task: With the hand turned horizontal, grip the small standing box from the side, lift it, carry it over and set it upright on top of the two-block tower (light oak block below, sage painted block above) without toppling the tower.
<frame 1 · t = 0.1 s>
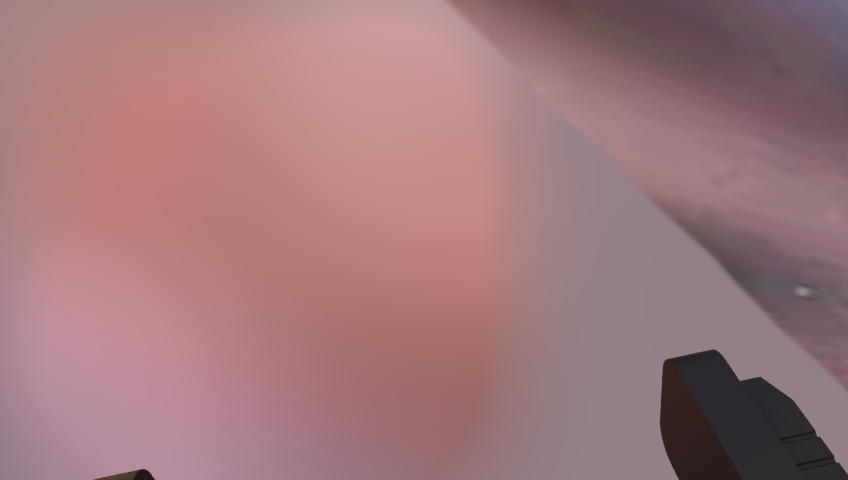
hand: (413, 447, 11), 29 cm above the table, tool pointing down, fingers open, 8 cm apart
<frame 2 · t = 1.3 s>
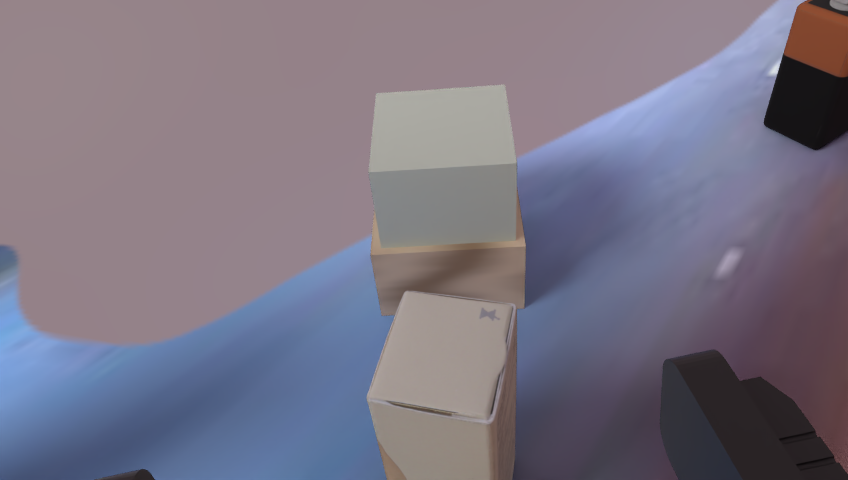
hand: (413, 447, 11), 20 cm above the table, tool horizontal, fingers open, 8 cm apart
tower top: (446, 201, 39), point 5 cm above the table, touching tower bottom
battery: (815, 123, 50), on the table
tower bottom: (451, 264, 43), on the table, touching tower top
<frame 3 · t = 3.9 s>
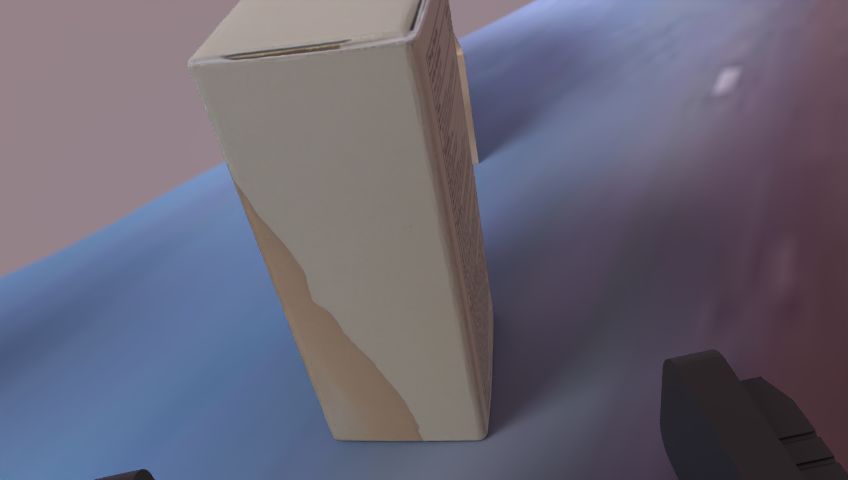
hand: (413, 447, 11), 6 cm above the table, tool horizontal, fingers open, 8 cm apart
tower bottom: (379, 142, 33), on the table, touching tower top
box: (421, 379, 20), on the table
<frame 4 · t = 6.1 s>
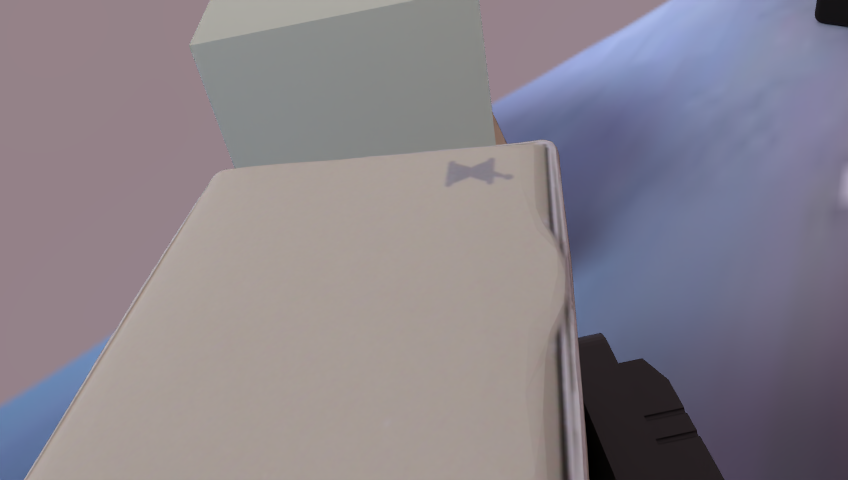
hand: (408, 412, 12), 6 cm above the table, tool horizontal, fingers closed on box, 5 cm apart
tower top: (369, 135, 23), point 5 cm above the table, touching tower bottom
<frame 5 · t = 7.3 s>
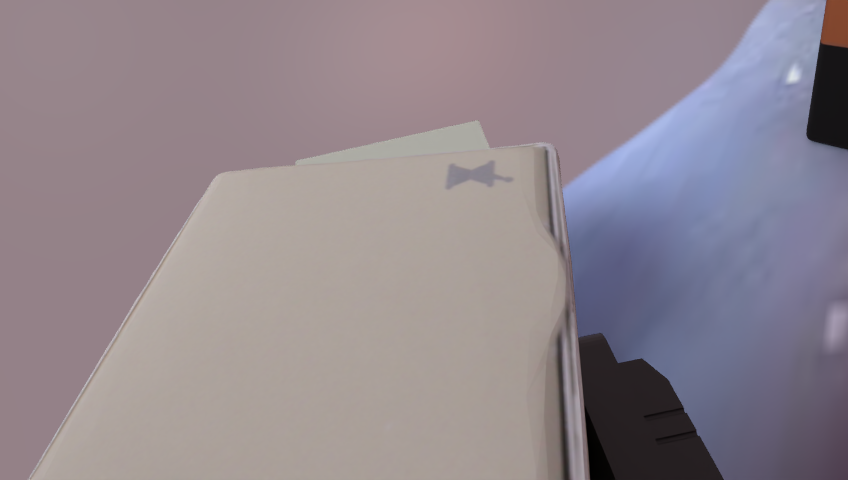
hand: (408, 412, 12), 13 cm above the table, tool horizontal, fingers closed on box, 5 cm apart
tower top: (422, 299, 26), point 5 cm above the table, touching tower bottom
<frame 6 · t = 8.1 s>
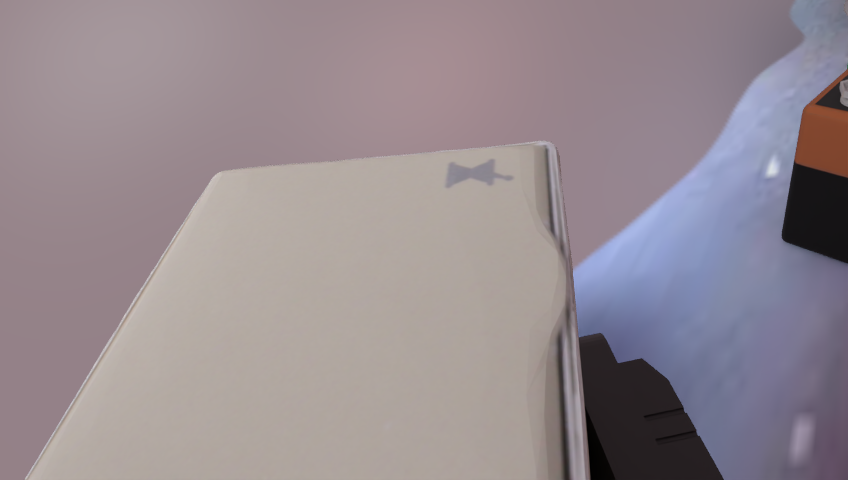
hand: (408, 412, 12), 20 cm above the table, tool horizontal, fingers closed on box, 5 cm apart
battery: (839, 229, 43), on the table
when the fingers open (17 cm above the table, at t = 10.2 s): box stays where it is, point 10 cm above the table.
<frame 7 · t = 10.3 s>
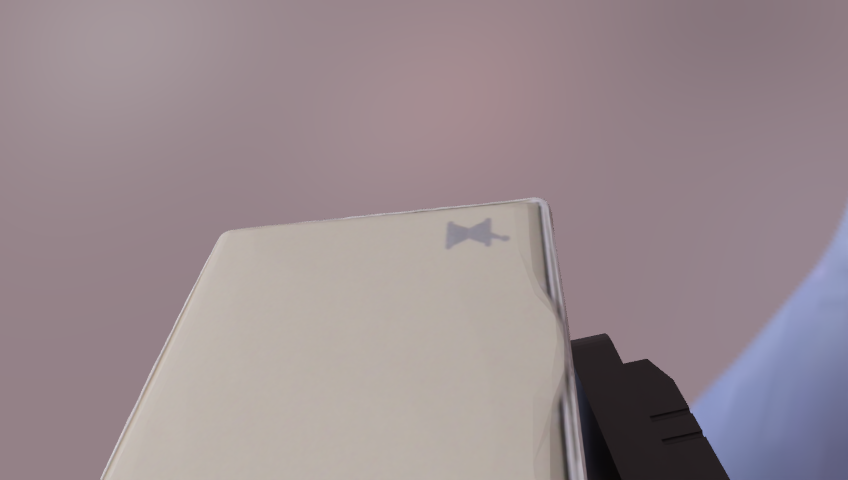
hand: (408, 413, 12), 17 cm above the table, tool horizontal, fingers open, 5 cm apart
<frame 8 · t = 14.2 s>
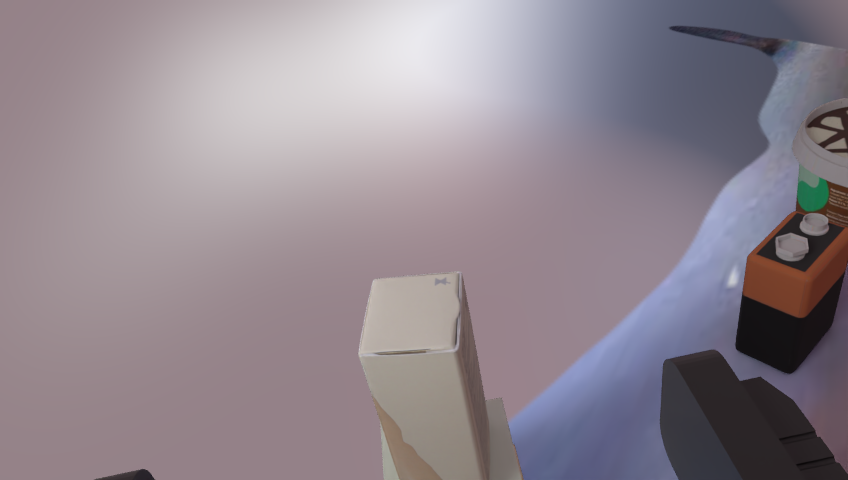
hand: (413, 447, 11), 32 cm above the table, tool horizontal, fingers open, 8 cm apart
battery: (782, 340, 53), on the table
food container: (819, 224, 63), on the table
box: (450, 465, 37), point 10 cm above the table, touching tower top
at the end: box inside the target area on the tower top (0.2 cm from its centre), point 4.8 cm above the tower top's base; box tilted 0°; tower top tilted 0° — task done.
